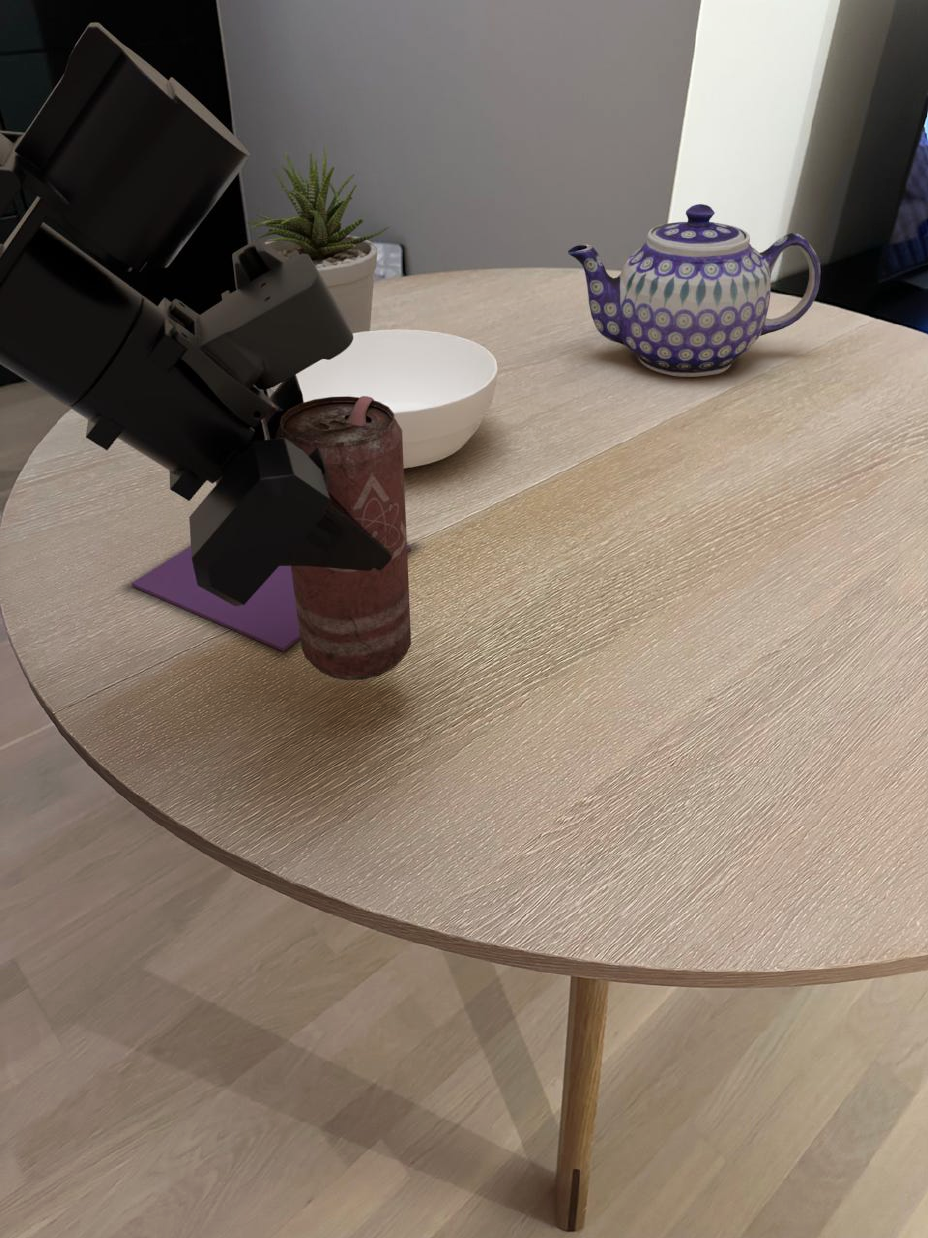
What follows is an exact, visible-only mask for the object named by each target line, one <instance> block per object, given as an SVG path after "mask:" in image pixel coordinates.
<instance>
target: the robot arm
mask: <svg viewBox="0 0 928 1238" xmlns="http://www.w3.org/2000/svg"><path fill="white" fill-rule="evenodd" d="M251 157H252V154H251V152H249V150H248V149H247V148H246V146H245V145H243V144H242V142H241V141H240V140H239V139H238V138H237V137H236V136H235V135H234V134H233V133H232V131H231V130H229V129H228V128H227V127H226V125H224V124H223V123H222V122H221V121H220V120H219V119H218V118H217V117H216V116H215V115H214V114H213V113H212V112H211V111H210V110H209V109H207V107H205V105H204V104H202V103H201V102H200V101H199V99H197V98H196V97H195V96H194V95H193V94H192V93H190V92H189V91H188V90H187V89H186V88H185V87H184V86H183V85H182V84H181V83H179V82H178V81H177V80H176V79H175V78H174V77H172V76H171V77H170V78H169V79H167V78H166V77H165V76H163V74H161V73H160V72H159V71H158V70H157V69H156V68H154V67H153V66H152V65H151V64H149V63H148V62H147V61H146V60H144V59H143V58H142V57H141V56H140V55H138V54H137V53H136V52H134V51H133V50H132V49H131V48H129V47H128V46H126V45H125V44H123V43H122V42H120V40H119V39H117V38H116V37H115V36H114V35H113V34H112V33H111V32H110V31H109V30H108V29H106V28H105V27H104V26H103V25H102V24H101V23H99V22H90V23H89V24H88V25H87V26H86V28H85V30H84V32H83V33H82V34H81V35H80V38H79V39H78V41H77V42H76V44H75V45H74V47H73V49H72V51H71V52H70V55H69V57H68V60H67V64H66V67H65V70H64V72H63V75H62V76H61V78H60V79H59V81H58V82H57V84H56V85H55V87H54V88H53V90H52V92H51V93H50V94H49V96H48V97H47V99H46V100H45V102H44V103H43V105H42V107H41V108H40V110H39V111H38V113H37V114H36V115H35V117H34V119H33V120H32V122H31V123H30V125H29V126H28V128H27V129H26V131H25V132H21V131H10V130H0V220H1V219H2V217H3V216H4V214H5V213H6V212H7V210H8V209H9V207H10V206H11V204H12V202H13V201H14V199H16V197H17V195H18V194H19V192H20V191H21V189H27V190H29V191H30V192H31V193H33V194H34V195H36V198H35V199H34V201H33V202H32V203H31V205H30V206H29V208H28V209H27V211H26V212H25V214H24V215H23V216H22V218H21V219H20V221H19V222H18V223H17V225H16V227H15V228H14V229H13V231H12V232H11V234H10V235H9V236H8V237H7V239H6V240H5V242H4V243H0V365H1V366H2V367H4V368H6V370H9V371H10V372H12V373H13V374H15V375H17V376H18V377H20V378H22V379H23V380H25V381H26V382H28V383H29V384H31V385H33V386H34V387H36V388H37V389H39V390H40V391H42V392H43V393H45V394H47V395H48V396H50V397H52V398H53V399H55V400H57V401H58V402H60V403H61V404H63V405H64V406H66V407H68V408H69V409H71V410H72V411H74V412H76V413H77V414H79V415H80V416H82V417H83V418H85V419H87V424H86V433H85V438H86V439H88V440H89V441H90V442H92V443H94V444H95V445H97V446H99V447H101V448H102V449H104V450H105V451H108V450H109V449H110V448H111V447H112V445H113V444H114V443H115V441H116V440H117V439H118V440H120V441H121V442H123V443H124V444H127V445H128V446H130V447H131V448H133V449H134V450H135V451H137V452H139V453H140V454H142V455H143V456H145V457H147V458H149V459H150V460H151V461H153V462H155V463H157V464H158V465H160V467H163V468H164V469H166V470H168V471H169V490H170V491H172V492H173V493H175V494H176V495H179V496H180V497H181V498H183V499H185V500H187V501H188V502H190V501H191V500H192V499H193V498H194V496H196V495H197V493H198V492H199V490H200V489H201V488H202V487H203V486H204V484H206V482H209V483H210V484H214V483H215V486H214V487H213V488H212V489H211V491H209V493H208V494H207V495H206V496H205V497H204V499H203V500H202V501H201V503H200V504H199V505H198V506H197V507H196V508H195V509H194V511H192V513H191V514H190V515H189V517H188V519H189V537H190V546H191V555H192V562H193V567H194V572H195V576H196V581H197V585H198V586H199V587H201V588H203V589H205V590H207V591H208V592H210V593H212V594H214V595H215V596H217V597H219V598H221V599H223V600H224V601H226V602H228V603H230V604H232V605H233V606H240V605H245V604H246V602H247V601H248V600H249V599H250V598H251V597H252V596H253V595H254V593H255V592H256V591H257V590H258V589H259V588H260V587H261V586H262V585H263V583H264V582H265V581H266V580H267V579H268V578H269V577H270V576H271V575H272V573H273V572H274V571H275V570H276V569H277V568H278V567H279V566H310V567H325V568H338V569H351V570H363V571H370V570H371V569H373V568H375V569H377V570H379V571H381V570H382V569H383V568H384V567H385V566H386V565H387V564H388V563H389V562H390V561H391V559H392V555H391V553H390V552H389V551H388V550H387V549H386V548H385V547H384V546H383V545H381V544H380V543H379V542H378V541H377V540H376V539H375V538H373V537H372V536H371V535H370V534H369V533H368V532H367V531H366V530H365V529H364V528H363V527H362V526H361V525H360V524H359V523H358V522H357V521H356V520H355V519H354V518H353V517H352V516H351V515H350V514H349V513H348V512H347V510H346V509H345V508H344V507H343V506H342V505H341V504H340V503H339V502H338V501H337V500H336V499H335V498H334V497H333V496H332V495H331V494H330V493H329V492H328V485H329V477H328V473H327V469H326V466H325V463H324V460H323V457H322V454H321V451H320V448H319V447H317V448H316V449H315V450H314V451H313V452H312V453H311V454H310V456H308V455H307V454H306V453H305V452H304V451H302V450H301V449H300V448H298V447H297V446H295V445H294V444H293V443H291V442H290V441H288V440H287V439H286V438H278V439H275V438H276V434H277V431H278V429H279V427H280V421H281V417H282V416H283V415H284V414H285V413H286V412H287V411H288V410H289V409H291V408H293V407H295V406H297V405H299V404H301V403H304V402H303V394H302V391H301V388H300V385H299V382H298V379H297V376H296V374H297V373H299V372H301V371H303V370H304V369H306V368H308V367H310V366H311V365H313V364H315V363H316V362H318V361H320V360H322V359H326V360H330V359H332V358H334V357H336V356H337V355H339V354H341V353H342V352H343V351H345V350H346V349H347V348H348V347H349V346H350V345H351V343H352V341H353V334H352V332H351V330H350V328H349V326H348V324H347V322H346V320H345V318H344V316H343V314H342V312H341V310H340V309H339V307H338V305H337V303H336V302H335V300H334V298H333V296H332V295H331V293H330V291H329V289H328V288H327V286H326V284H325V282H324V281H323V279H322V277H321V275H320V274H319V272H318V270H317V268H316V267H315V265H314V263H313V261H312V260H311V258H310V256H309V255H308V254H300V255H299V253H298V251H297V250H295V251H293V252H292V253H290V254H289V255H290V257H291V258H290V259H288V258H286V257H285V256H283V255H282V254H280V253H279V252H277V251H276V250H274V249H273V248H271V247H270V246H268V245H267V244H265V243H264V241H262V240H261V239H260V238H257V239H254V240H253V241H251V242H249V243H248V244H246V245H244V246H243V247H241V248H239V249H238V250H236V251H234V252H233V253H232V254H231V258H232V266H233V273H234V275H233V276H234V283H235V289H236V290H234V291H232V292H231V291H230V290H229V289H227V290H225V291H224V292H222V293H221V299H222V300H221V301H219V302H218V303H216V304H215V305H213V306H211V307H210V308H208V309H207V310H205V311H204V312H203V313H200V314H199V313H197V312H196V311H194V310H193V309H192V308H190V307H189V306H187V305H186V304H185V303H184V302H182V301H181V300H179V299H177V298H174V299H173V300H172V301H170V300H169V299H168V298H166V297H163V299H162V300H161V301H160V303H159V304H157V305H156V303H154V302H152V301H151V300H150V299H148V298H147V297H145V296H144V295H142V293H140V292H139V291H137V290H136V289H134V288H133V287H132V286H130V285H129V284H128V283H126V281H124V280H123V279H121V278H120V277H118V276H117V275H115V273H113V272H111V271H110V270H109V269H107V268H106V266H104V265H102V264H101V263H99V262H98V261H97V260H96V259H94V258H93V257H91V256H90V255H89V254H87V253H86V252H84V251H83V250H82V249H80V248H79V247H78V246H77V245H75V244H73V243H72V242H71V241H70V240H68V239H67V238H65V236H63V235H62V234H60V233H59V232H57V231H56V230H55V229H53V228H52V227H51V226H49V225H48V223H47V224H46V223H45V220H46V219H49V220H50V221H52V222H53V223H54V224H55V225H57V226H58V227H60V228H61V229H62V230H63V231H64V232H65V233H66V234H68V235H69V236H70V237H71V238H73V239H74V240H75V242H77V243H78V244H79V245H81V246H82V247H83V248H85V249H86V250H87V251H89V252H90V253H91V254H93V255H94V256H96V257H97V258H98V259H100V260H101V261H104V262H105V263H107V264H109V265H110V266H112V267H114V268H116V269H117V270H120V271H124V272H131V271H132V270H135V271H136V272H139V273H140V272H141V271H142V270H143V269H144V268H145V266H146V265H147V264H150V265H153V266H155V267H157V268H163V269H166V268H168V267H169V266H170V265H171V264H172V263H173V261H174V260H175V258H176V257H177V256H178V254H179V252H181V250H182V249H183V248H184V246H185V245H186V243H187V242H188V241H189V239H190V238H191V237H192V235H193V234H194V233H195V231H196V230H197V229H198V227H199V226H200V225H201V224H202V222H203V221H204V219H205V218H206V217H207V216H208V214H209V213H210V212H211V211H212V209H213V207H214V206H215V205H216V203H218V201H219V199H221V197H222V196H223V194H224V193H225V192H226V191H227V189H228V188H229V186H230V185H231V183H232V182H233V181H234V179H236V177H237V176H238V174H239V173H240V172H241V170H242V169H243V168H244V166H245V165H246V163H247V162H248V161H249V160H250V158H251ZM280 383H281V384H280ZM279 384H280V385H279ZM276 386H277V387H276ZM275 387H276V388H275ZM273 388H275V390H273Z"/></svg>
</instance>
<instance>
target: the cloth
mask: <svg viewBox="0 0 928 1238" xmlns="http://www.w3.org/2000/svg"><path fill="white" fill-rule="evenodd" d="M411 550H412V546H410V545H408V544H407V553H409V552H410V551H411ZM131 587H133V588H135V589H138V590H140V591H142V592H144V593H146V594H149V595H151V596H154V597H156V598H159V599H160V600H163V601H165V602H167V603H169V604H172V605H174V606H177V607H179V608H181V609H183V610H186V611H188V612H190V613H192V614H195V615H197V616H200V617H202V618H204V619H206V620H209V621H212V622H214V623H216V624H219V625H221V626H222V627H225V628H228V629H229V630H232V631H234V632H237V633H239V634H241V635H243V636H246V637H249V638H251V639H253V640H256V641H257V642H260V643H262V644H264V645H266V646H270V647H271V648H274V649H276V650H279V651H281V652H283V653H284V652H286V651H287V650H288V649H289V648H291V647H292V646H293V645H294V644H295V643H297V642H298V641H300V633H299V625H298V618H297V610H296V602H295V595H294V587H293V579H292V572H291V566H279V567H278V568H277V569H276V570H275V571H274V572H273V573H272V575H271V576H270V577H269V578H268V579H267V580H266V581H265V582H264V583H263V585H262V586H261V587H260V588H259V589H258V590H257V591H256V592H255V593H254V595H253V596H252V597H251V598H250V599H249V600H248V601H247V602H246V604H245V605H240V606H233V605H232V604H230V603H228V602H226V601H224V600H223V599H221V598H219V597H217V596H215V595H214V594H212V593H210V592H208V591H207V590H205V589H203V588H201V587H199V586H198V585H197V581H196V576H195V572H194V567H193V562H192V555H191V545H190V546H188V547H187V548H185V549H183V550H182V551H181V552H178V553H177V554H176V555H174V556H172V557H171V558H169V559H168V560H166V561H164V562H163V563H161V564H160V565H158V566H156V567H155V568H153V569H151V570H150V571H148V572H147V573H145V574H144V575H142V576H140V577H139V578H137V579H135V580H134V581H132V582H131Z"/></svg>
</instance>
